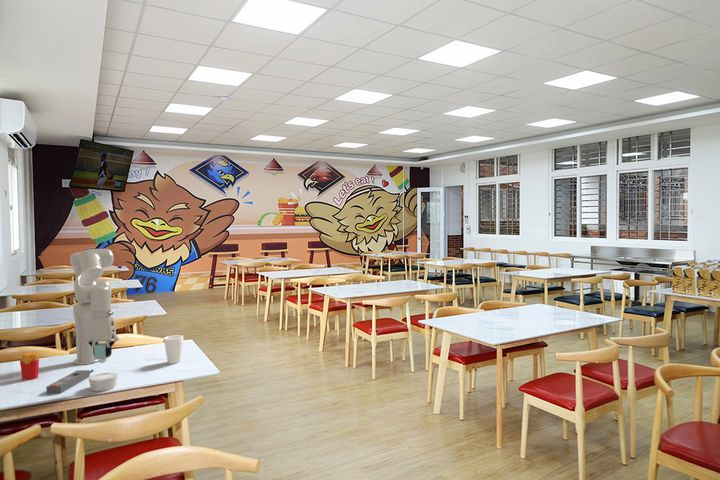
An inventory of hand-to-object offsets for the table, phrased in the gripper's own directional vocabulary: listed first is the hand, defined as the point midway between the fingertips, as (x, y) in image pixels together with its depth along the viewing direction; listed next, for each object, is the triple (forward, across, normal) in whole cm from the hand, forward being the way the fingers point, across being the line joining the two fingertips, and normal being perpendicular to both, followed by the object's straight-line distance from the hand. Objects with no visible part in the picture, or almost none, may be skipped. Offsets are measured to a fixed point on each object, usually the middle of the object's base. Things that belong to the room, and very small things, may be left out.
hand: (102, 355), depth 207 cm
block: (+3, 0, 0) cm, 3 cm away
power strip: (+14, +18, -9) cm, 25 cm away
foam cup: (+14, -17, -37) cm, 43 cm away
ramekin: (+15, 0, 0) cm, 15 cm away
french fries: (+14, +42, -15) cm, 47 cm away
